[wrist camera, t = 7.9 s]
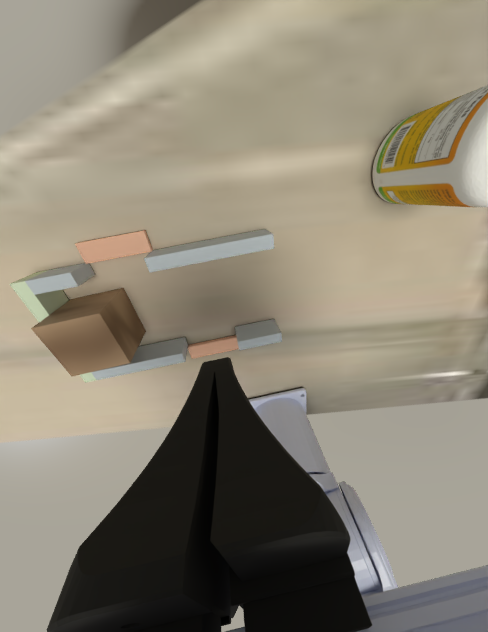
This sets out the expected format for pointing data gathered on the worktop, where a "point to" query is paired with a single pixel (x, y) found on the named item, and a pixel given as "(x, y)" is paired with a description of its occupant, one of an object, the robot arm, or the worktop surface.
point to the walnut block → (92, 332)
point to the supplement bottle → (437, 155)
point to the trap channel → (48, 296)
